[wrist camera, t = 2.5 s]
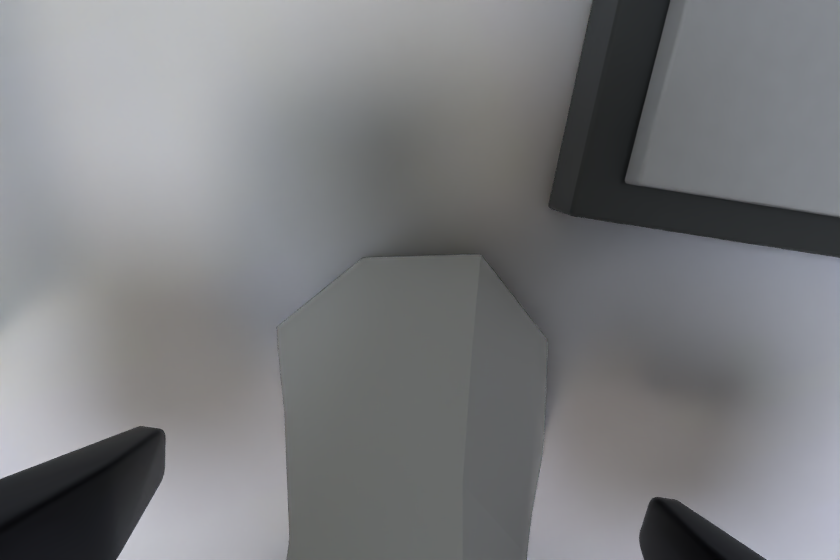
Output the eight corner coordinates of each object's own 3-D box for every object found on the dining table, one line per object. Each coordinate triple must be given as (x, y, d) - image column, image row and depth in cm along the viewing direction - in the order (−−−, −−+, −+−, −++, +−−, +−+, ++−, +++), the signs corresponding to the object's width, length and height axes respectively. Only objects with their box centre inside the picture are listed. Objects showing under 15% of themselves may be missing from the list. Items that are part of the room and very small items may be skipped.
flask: (502, 205, 11) (1045, 469, 1) (581, 451, 13) (1089, 1360, 3) (233, 303, 12) (-656, 947, 2) (341, 526, 13) (129, 1470, 4)
